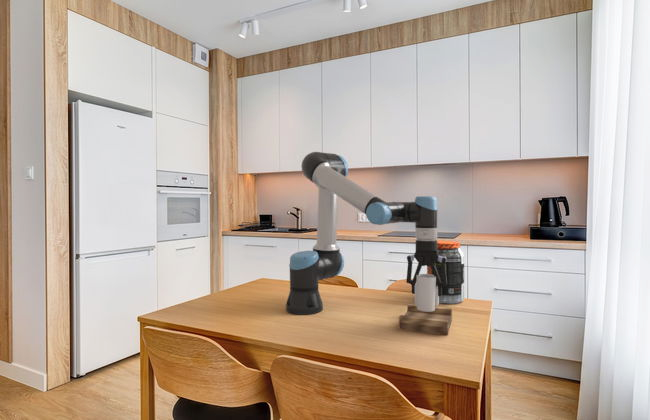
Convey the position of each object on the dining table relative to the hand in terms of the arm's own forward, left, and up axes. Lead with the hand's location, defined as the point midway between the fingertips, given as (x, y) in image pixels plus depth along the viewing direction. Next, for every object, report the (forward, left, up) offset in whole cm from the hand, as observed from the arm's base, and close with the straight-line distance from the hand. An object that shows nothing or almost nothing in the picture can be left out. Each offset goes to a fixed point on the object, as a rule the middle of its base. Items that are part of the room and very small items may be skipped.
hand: (426, 303), depth 136 cm
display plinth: (0, 0, -7) cm, 7 cm away
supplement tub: (+3, +37, -8) cm, 38 cm away
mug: (0, 0, -2) cm, 2 cm away
